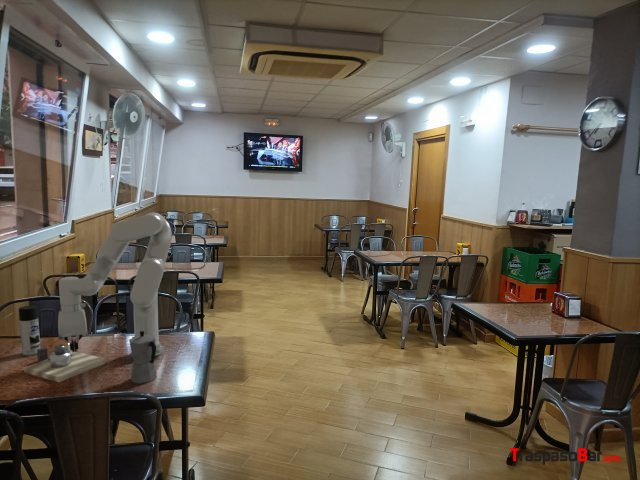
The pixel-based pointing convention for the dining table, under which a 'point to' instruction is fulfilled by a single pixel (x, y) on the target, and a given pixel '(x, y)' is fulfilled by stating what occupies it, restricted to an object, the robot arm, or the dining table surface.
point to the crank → (60, 355)
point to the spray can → (29, 330)
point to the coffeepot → (143, 358)
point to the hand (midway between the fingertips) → (74, 351)
